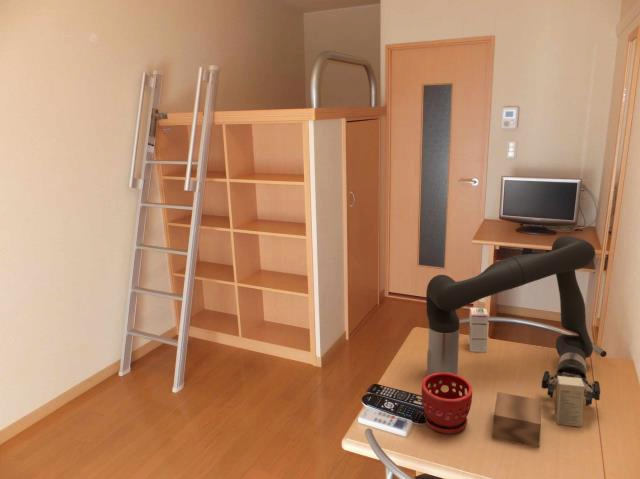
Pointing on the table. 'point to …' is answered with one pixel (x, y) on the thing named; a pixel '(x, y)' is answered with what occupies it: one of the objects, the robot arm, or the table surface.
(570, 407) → the skincare box
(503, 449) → the table surface
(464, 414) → the plant pot
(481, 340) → the syrup box
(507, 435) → the walnut block
